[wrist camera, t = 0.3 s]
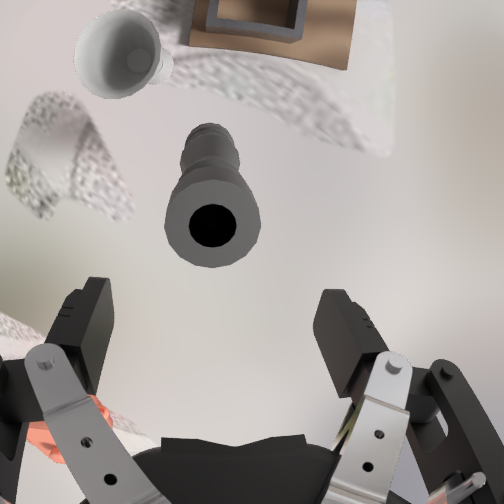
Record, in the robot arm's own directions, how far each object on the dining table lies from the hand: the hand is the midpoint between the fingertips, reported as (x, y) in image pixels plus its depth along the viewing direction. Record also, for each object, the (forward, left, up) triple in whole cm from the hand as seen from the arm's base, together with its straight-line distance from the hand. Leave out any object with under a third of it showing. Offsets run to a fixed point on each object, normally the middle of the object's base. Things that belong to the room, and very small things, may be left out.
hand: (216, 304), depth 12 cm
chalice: (-10, -8, -33) cm, 35 cm away
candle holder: (0, 0, -33) cm, 33 cm away
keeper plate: (-20, +6, -33) cm, 39 cm away
